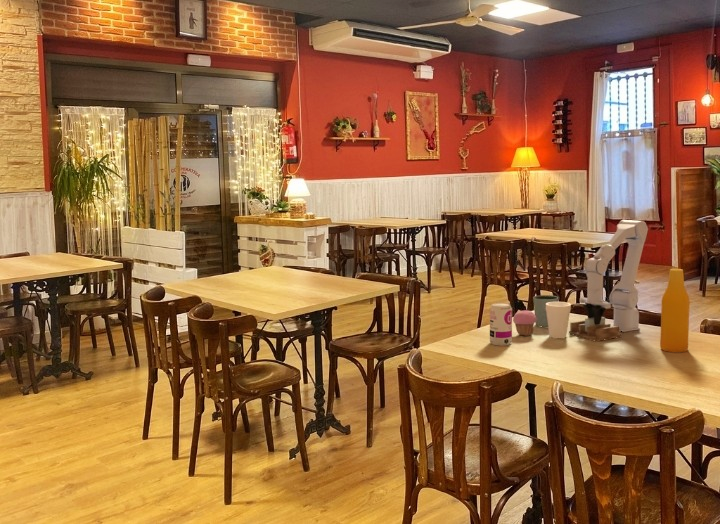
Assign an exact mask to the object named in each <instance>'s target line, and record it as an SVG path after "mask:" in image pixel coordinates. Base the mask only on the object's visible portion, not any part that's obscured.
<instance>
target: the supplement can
mask: <svg viewBox="0 0 720 524" xmlns="http://www.w3.org/2000/svg"><path fill="white" fill-rule="evenodd" d="M489 342H490V343H491V345H493V346H499V347H503V346H504V347H505V346H509V345H511V344H512V343H513V307H512V306H511V304H510V303H506V302H496V303H492V304H490V307H489Z"/></svg>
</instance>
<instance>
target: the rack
mask: <svg viewBox="0 0 720 524" xmlns="http://www.w3.org/2000/svg"><path fill="white" fill-rule="evenodd" d="M569 323H570V324H569V325H570V326H569V327H570V329H569V331H568V334H569V333H571V334H570V335H572V334H574V335H573V336H575V335H577V336H576V337H579V336H580V337H579V338H582V337H584V338H583V339H586V338H587V340H589V339H591V340H590V341H593V340H595V341H594V342H596V341H598V342H600V341H599V340H604V339H610V340H612V339H611V338H616V337H620V338H621V334H620V331H619V326H611V323H605V324H603V325H596V326H590V327H587V332H585V319H584V320H578V321H572V322H571V321H570V322H569ZM616 339H617V338H616ZM604 341H605V340H604Z"/></svg>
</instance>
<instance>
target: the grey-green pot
mask: <svg viewBox="0 0 720 524" xmlns="http://www.w3.org/2000/svg"><path fill="white" fill-rule="evenodd" d="M532 298H533V299H532V300H533V301H532V302H533V306H534V307H533V309H534V310H533V311H534V314H535V316H536V322H535V323H534V324H535V326H536V325H537V326H536V327H538V326H542V327H541V328H544V327H548V321H547V312H546V303H548V302H559V297H558V296H556V295H553V294H552V295H550V294H549V295H548V294H547V295H546V294H541V295H535V296H533V297H532Z"/></svg>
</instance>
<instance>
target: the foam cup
mask: <svg viewBox="0 0 720 524" xmlns="http://www.w3.org/2000/svg"><path fill="white" fill-rule="evenodd" d="M571 305H572V304H571V303H569V302H565V301H558V302H548V303H546V312H547V321H548V335H549V338H551V337H553V338H552V339H555V338H563V339H566V338H567V333H568V329H569V328H568V327H569V320H570V314H571V308H572V307H571ZM565 337H566V338H565Z"/></svg>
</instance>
